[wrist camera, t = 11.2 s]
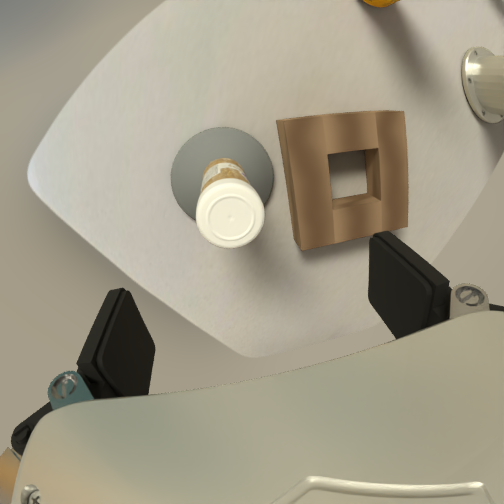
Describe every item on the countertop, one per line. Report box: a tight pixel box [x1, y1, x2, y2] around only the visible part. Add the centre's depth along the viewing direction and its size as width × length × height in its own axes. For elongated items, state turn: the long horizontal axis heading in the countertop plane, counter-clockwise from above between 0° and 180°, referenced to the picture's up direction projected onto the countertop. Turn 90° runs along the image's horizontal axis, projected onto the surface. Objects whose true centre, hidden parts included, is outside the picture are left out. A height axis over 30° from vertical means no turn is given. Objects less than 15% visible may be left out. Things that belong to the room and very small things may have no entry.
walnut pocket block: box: [276, 110, 408, 251], centre depth 32 cm, size 14×14×4 cm
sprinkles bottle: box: [196, 158, 265, 249], centre depth 25 cm, size 5×5×14 cm
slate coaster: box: [171, 127, 273, 220], centre depth 32 cm, size 11×11×1 cm
